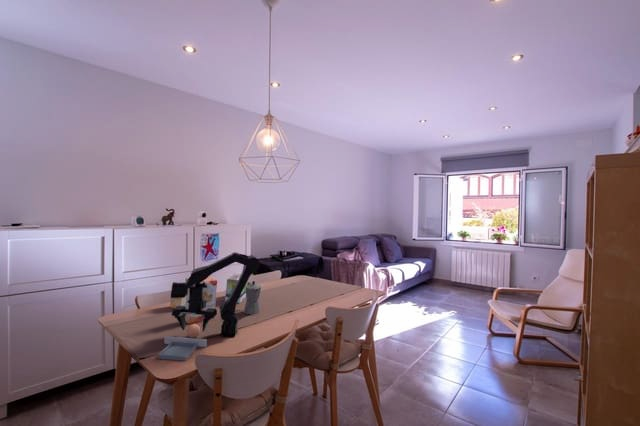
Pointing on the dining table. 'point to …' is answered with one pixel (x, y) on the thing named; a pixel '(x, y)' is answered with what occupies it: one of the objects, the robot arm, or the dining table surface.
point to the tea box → (230, 286)
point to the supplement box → (177, 302)
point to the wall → (186, 341)
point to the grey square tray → (177, 351)
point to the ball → (193, 330)
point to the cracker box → (208, 296)
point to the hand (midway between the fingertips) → (193, 330)
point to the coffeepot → (252, 298)
